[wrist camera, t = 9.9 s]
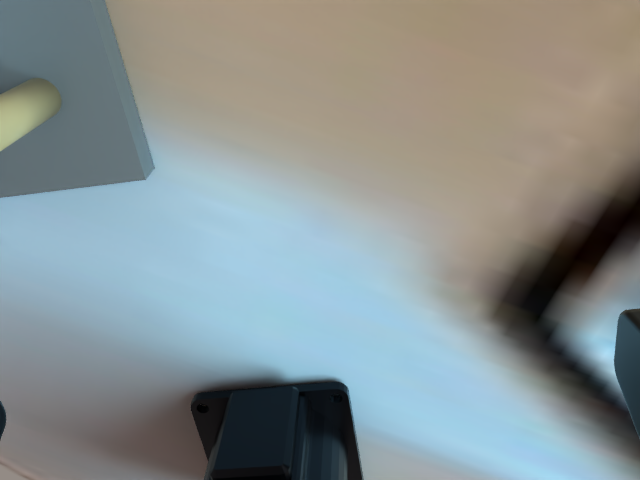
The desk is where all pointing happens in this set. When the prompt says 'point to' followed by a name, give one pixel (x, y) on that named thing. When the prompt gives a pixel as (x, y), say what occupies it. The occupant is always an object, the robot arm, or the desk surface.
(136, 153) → the pin cradle
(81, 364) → the desk surface
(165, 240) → the desk surface
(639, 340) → the robot arm
